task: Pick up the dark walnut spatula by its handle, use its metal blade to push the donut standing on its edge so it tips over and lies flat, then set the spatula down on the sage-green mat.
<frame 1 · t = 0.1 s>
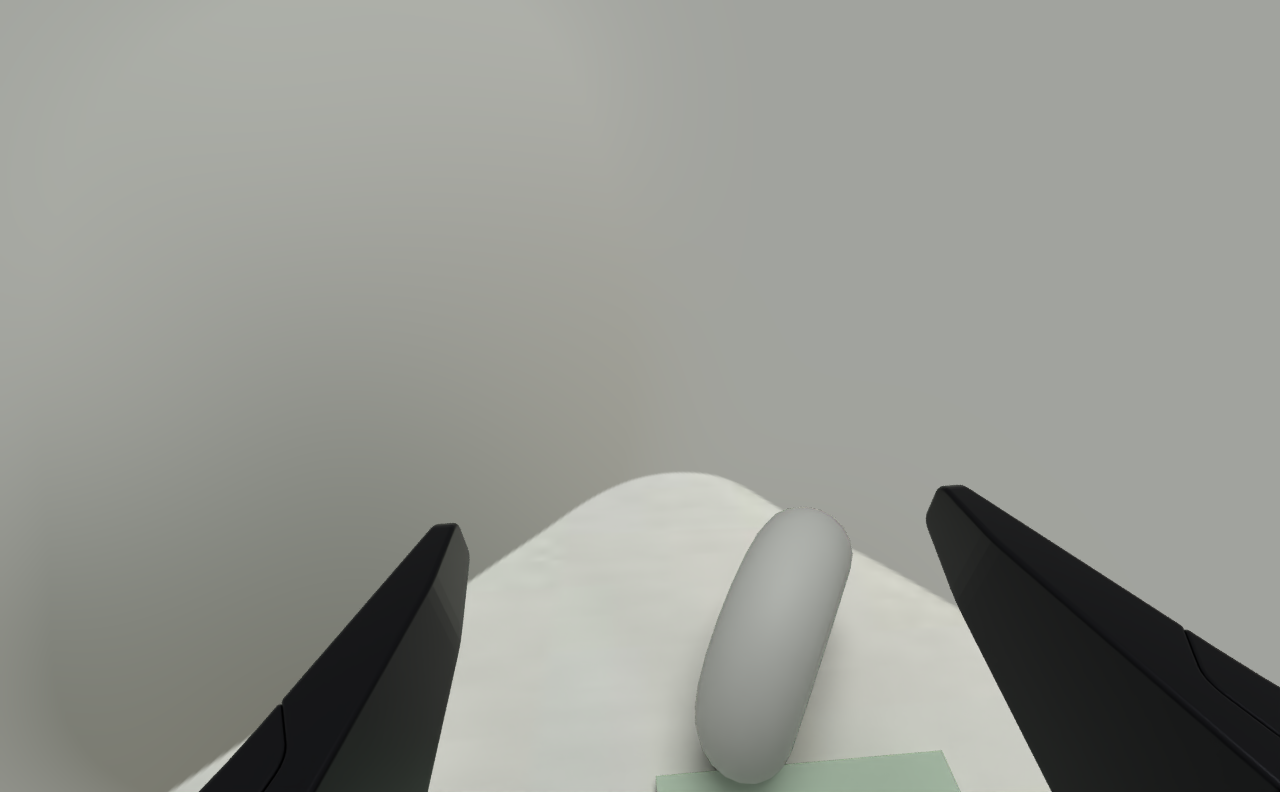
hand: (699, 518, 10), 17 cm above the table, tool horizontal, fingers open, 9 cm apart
donut: (763, 695, 23), on the table
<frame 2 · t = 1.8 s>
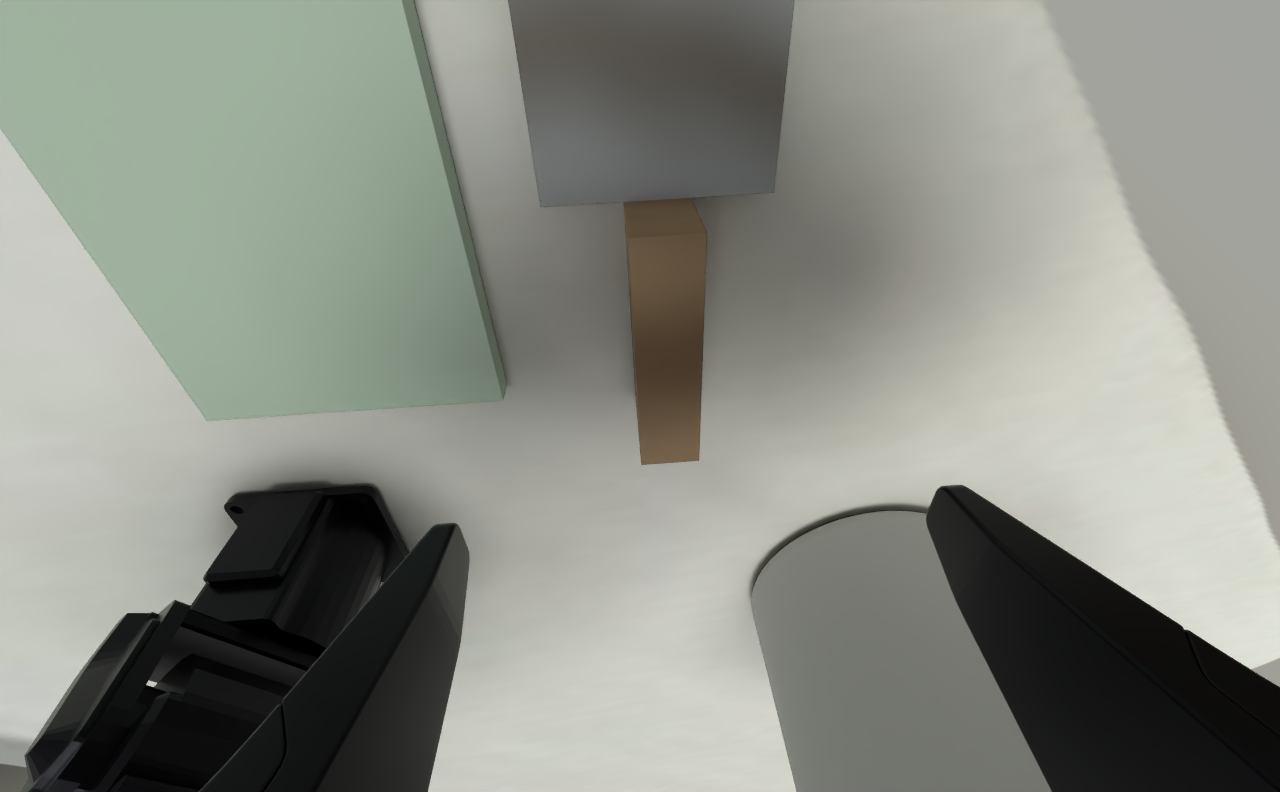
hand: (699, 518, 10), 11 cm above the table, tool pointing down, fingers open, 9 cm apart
cylinder vase: (855, 573, 30), on the table
spatula: (657, 304, 19), on the table
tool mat: (252, 143, 15), on the table
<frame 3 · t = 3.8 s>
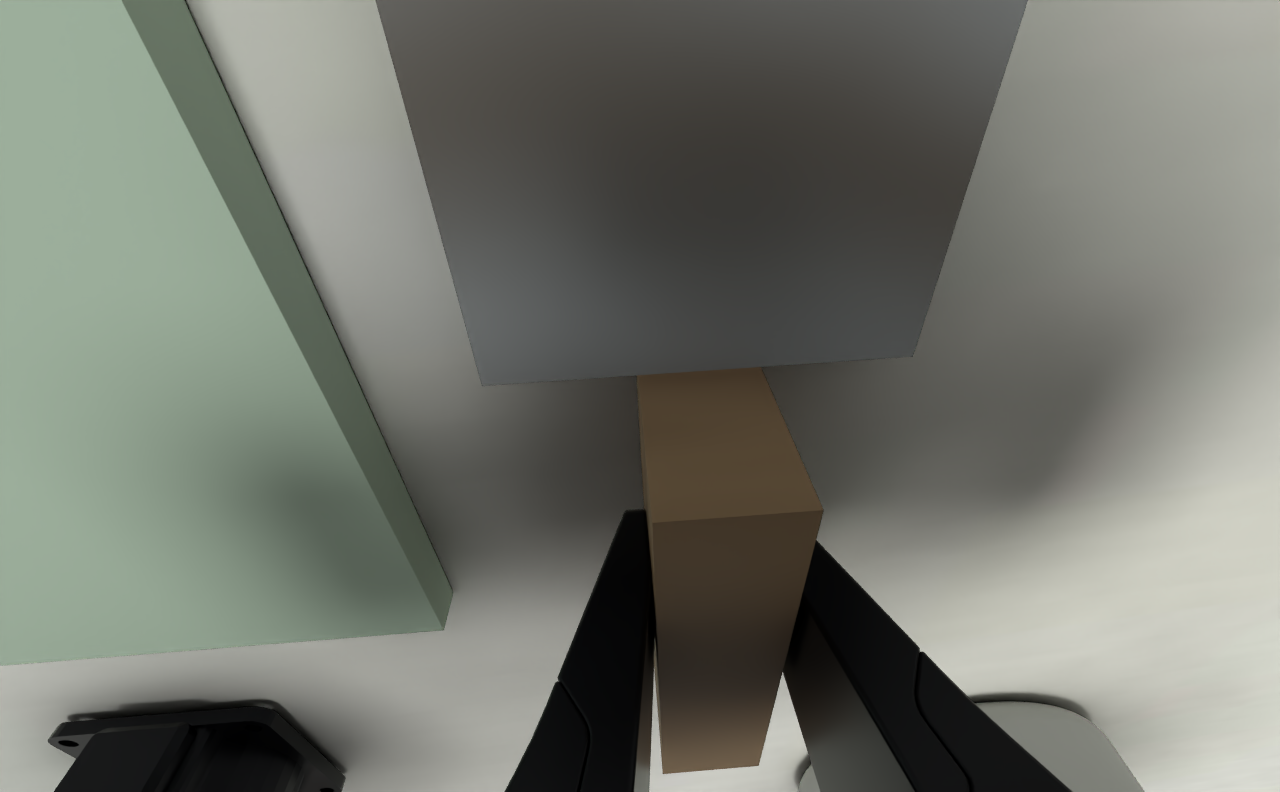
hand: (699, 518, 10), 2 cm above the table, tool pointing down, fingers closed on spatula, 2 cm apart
cylinder vase: (933, 753, 23), on the table
spatula: (687, 494, 12), on the table, touching gripper
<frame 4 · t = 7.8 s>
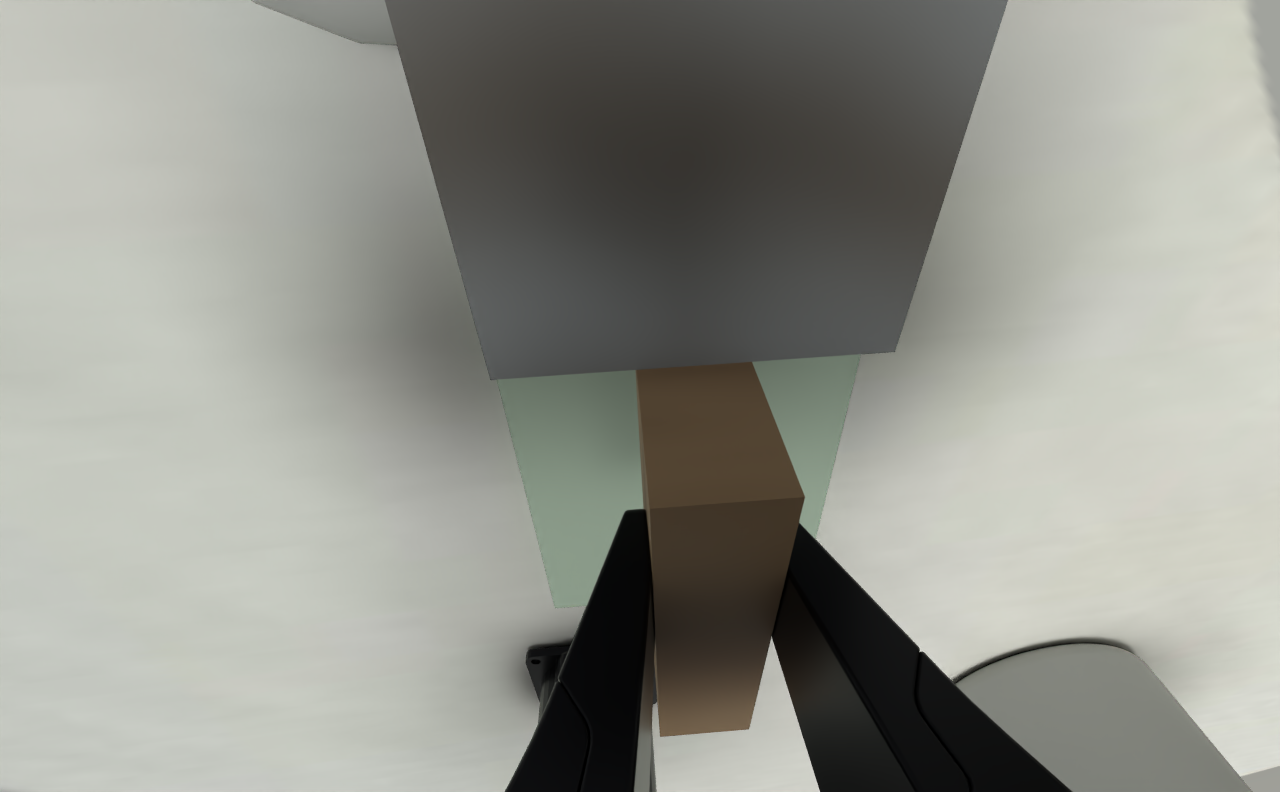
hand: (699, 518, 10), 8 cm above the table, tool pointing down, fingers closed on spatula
cylinder vase: (1026, 685, 34), on the table
spatula: (684, 478, 12), point 5 cm above the table, touching gripper
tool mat: (676, 427, 18), on the table
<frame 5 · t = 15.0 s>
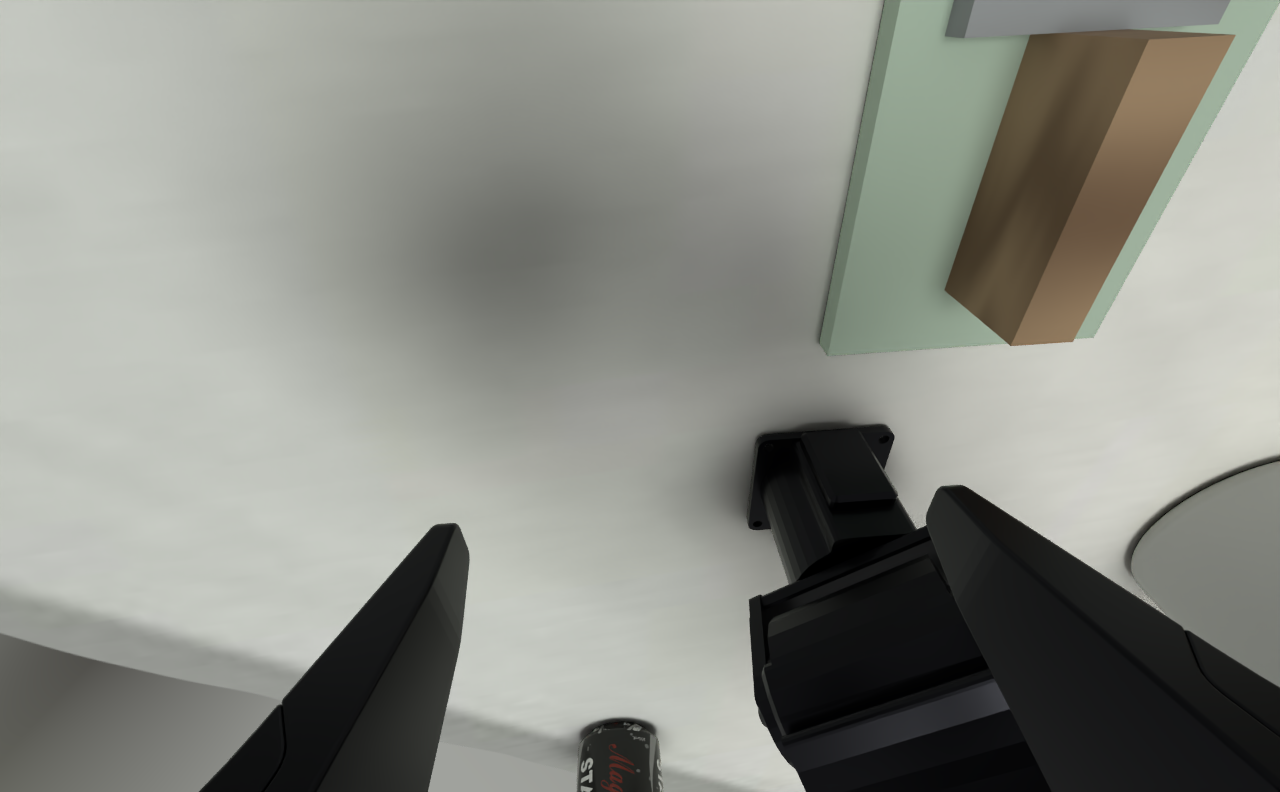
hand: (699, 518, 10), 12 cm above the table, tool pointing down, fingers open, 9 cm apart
cylinder vase: (1233, 521, 32), on the table
beverage can: (618, 731, 45), on the table
spatula: (1011, 177, 17), point 1 cm above the table, touching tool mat
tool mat: (1036, 89, 17), on the table
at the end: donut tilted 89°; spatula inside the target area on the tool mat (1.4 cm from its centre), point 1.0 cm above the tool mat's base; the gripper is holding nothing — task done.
